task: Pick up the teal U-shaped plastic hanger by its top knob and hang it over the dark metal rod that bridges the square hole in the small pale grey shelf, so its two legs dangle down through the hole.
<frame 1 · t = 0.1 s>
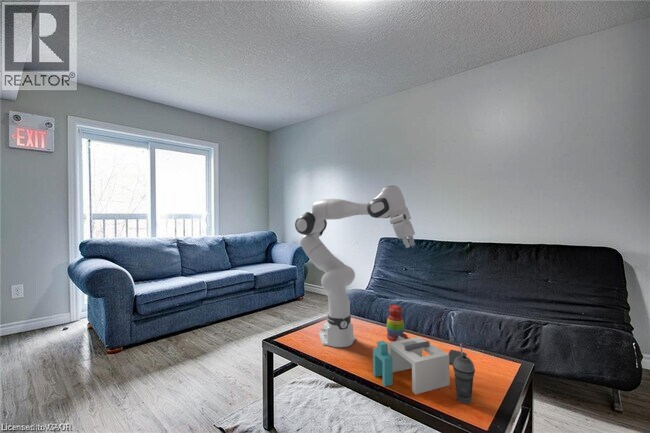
hand: (410, 246, 136), 52 cm above the table, tool tilted 20°, fingers open, 8 cm apart
stacking bear: (395, 338, 159), on the table
wall hook: (407, 357, 138), on the table
shelf: (417, 377, 120), on the table
hanger: (382, 379, 119), on the table
beverage cup: (463, 400, 106), on the table
smartphone: (455, 359, 136), on the table
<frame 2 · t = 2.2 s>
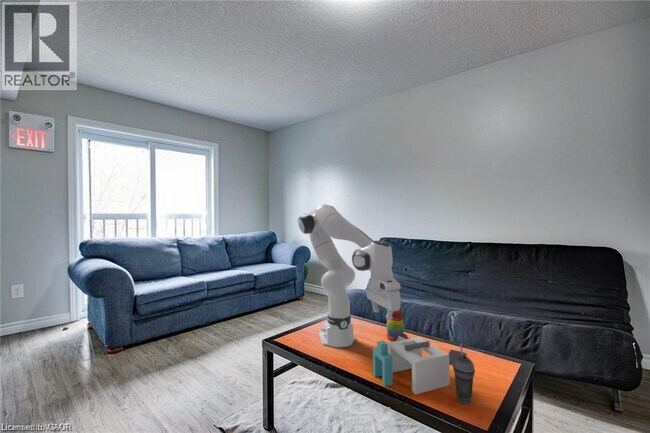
hand: (382, 315, 119), 26 cm above the table, tool pointing down, fingers open, 8 cm apart
nothing on the table moved.
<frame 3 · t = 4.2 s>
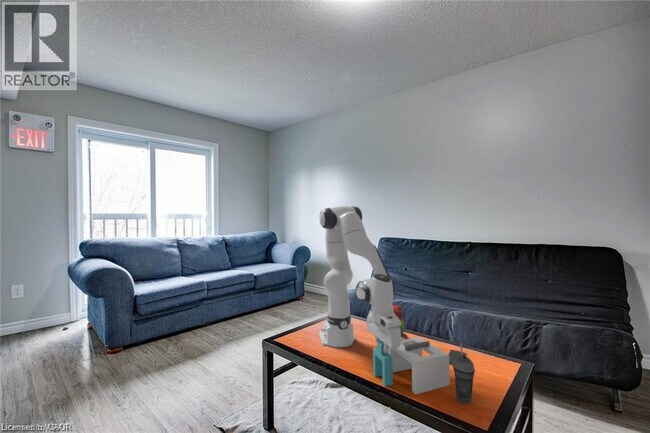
hand: (382, 349, 119), 12 cm above the table, tool pointing down, fingers closed on hanger, 3 cm apart
hanger: (382, 379, 119), on the table, touching gripper
everything else where it was.
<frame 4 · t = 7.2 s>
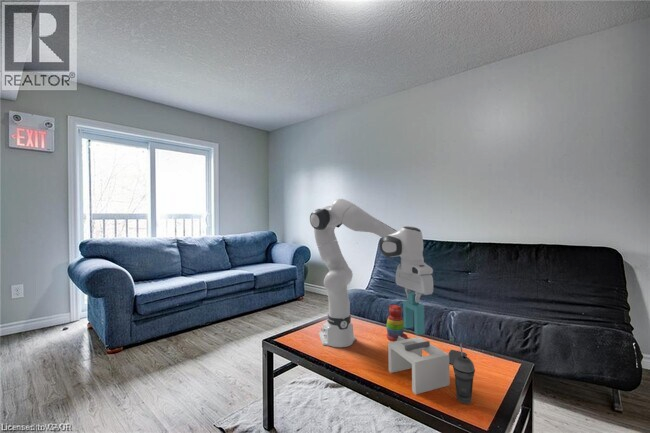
hand: (413, 300, 120), 32 cm above the table, tool pointing down, fingers closed on hanger, 3 cm apart
hanger: (413, 330, 120), point 20 cm above the table, touching gripper
everything else where it was.
when the fingers open (19 cm above the table, at t = 10.0 s): hanger drops 1 cm, resting on shelf.
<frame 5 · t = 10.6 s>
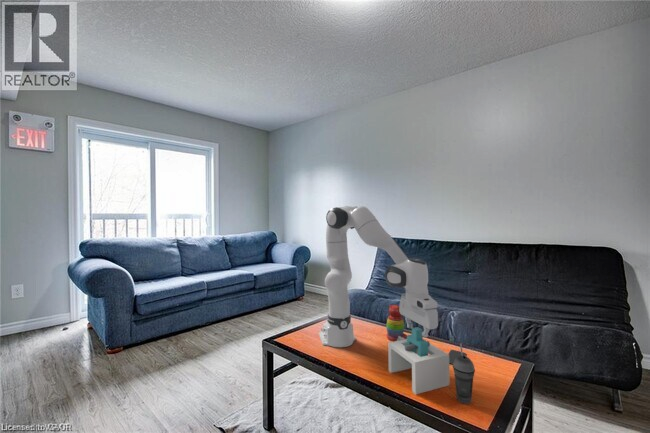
hand: (417, 332, 120), 19 cm above the table, tool pointing down, fingers open, 8 cm apart
hanger: (417, 365, 120), point 5 cm above the table, touching shelf
everything else where it was.
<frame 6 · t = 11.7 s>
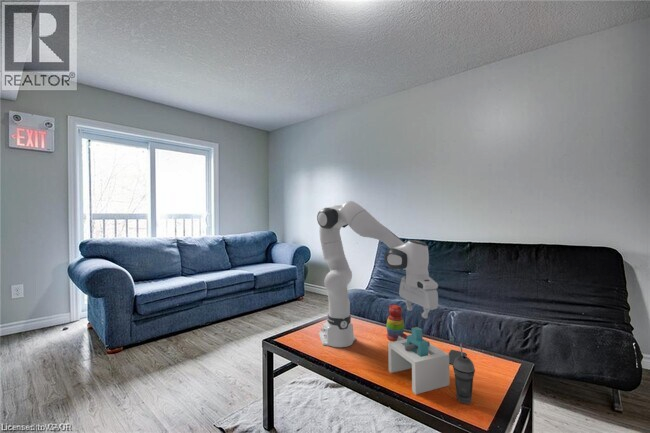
hand: (416, 313, 120), 26 cm above the table, tool pointing down, fingers open, 8 cm apart
nothing on the table moved.
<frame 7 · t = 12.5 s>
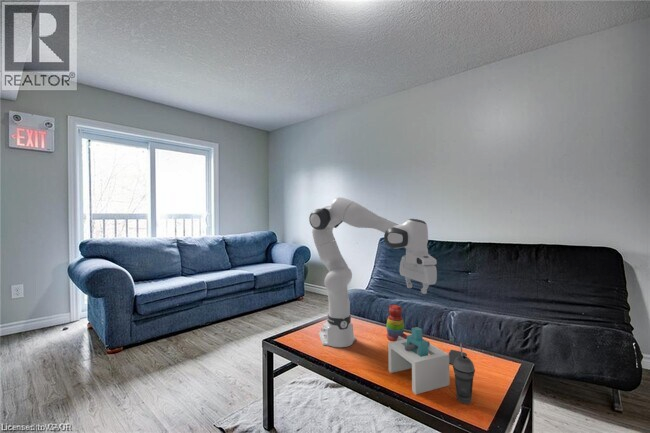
hand: (416, 290, 124), 35 cm above the table, tool pointing down, fingers open, 8 cm apart
nothing on the table moved.
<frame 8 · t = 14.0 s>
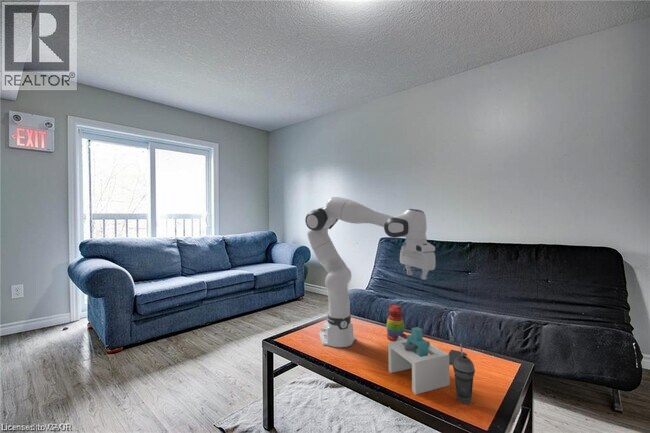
hand: (416, 277, 130), 39 cm above the table, tool pointing down, fingers open, 8 cm apart
nothing on the table moved.
at the end: hanger 0.1 cm off-centre on the shelf, point 5.0 cm above the shelf's base; the gripper is holding nothing; hanger touching shelf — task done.
